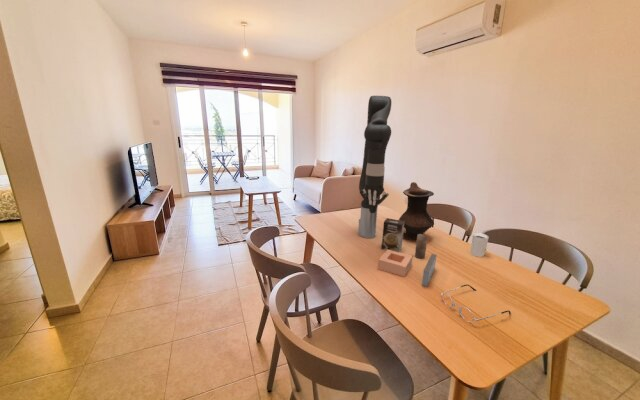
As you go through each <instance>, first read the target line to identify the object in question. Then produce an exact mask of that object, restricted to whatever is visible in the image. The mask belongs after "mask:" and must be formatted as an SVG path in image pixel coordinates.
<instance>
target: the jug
mask: <svg viewBox="0 0 640 400" xmlns="http://www.w3.org/2000/svg"><path fill="white" fill-rule="evenodd" d="M402 193H403V195H405V196H406V197H407V208H406V210H405V211H404V212H403V213H402V214H401V215H400V217H399V218H398V220H401V221H405V222H404V231H405V232H403V237H404V238H406V239H408V240H409V241H417V235H418V234H424V233H425V232H427V231H428V230H429V229H430V228H432V227H433V226H434V225H435V222H434V220H433V218H432V217H431V215H430V214H429V213H428V210H427V208H428V201H429V199H430V197H432V196H434V195H435V194H434V192H433V191H430V190H428V189H424V188H421V187H420V186H418V184H417V182H416V181H415V182H414V181H413V182H411V183H410V185H409V187H408V188H406V189H405V190H403V192H402ZM424 235H425V234H424Z"/></svg>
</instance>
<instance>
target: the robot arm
mask: <svg viewBox="0 0 640 400" xmlns="http://www.w3.org/2000/svg"><path fill="white" fill-rule="evenodd" d="M367 106H368V107H367V121H366V122H367V123H366V127H365V129H364V133H363V136H364V140H365V142H364V149H363V150H364V151H363V160H362V167H361V173H360V179H359V183H358V190H359V195H360V196H361V197H362V199H363V200H361V202H360V215H359V216H360V218H359V219H358V227H357V228H358V229H357V231H358V232H357V233H358V234H357V235H358V236H360V237H363V238H367V239H370V238H372V239H373V238H375V237H376V233H377V220H378V219H377V218H378V206H379V205H380V204H382V203H383V202H384V201H385V200H386V198H388V196H389V193H387V192H386V191H385V188H384V183H385V182H384V180H385V160H386V159H385V158H386V151H387V147H388V144H389V142H390V138H391V136H392V128H391V127H390V125H388V118H389V117H390V114H391V110H392V98H391V97H390V96H388V95H387V96H386V95H370V97H369V99H368V105H367Z"/></svg>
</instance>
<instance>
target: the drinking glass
mask: <svg viewBox="0 0 640 400" xmlns="http://www.w3.org/2000/svg"><path fill="white" fill-rule="evenodd" d="M488 242H489V235H487V234H485V233H480V232H475V233H472V239H471V247H470V254H471V255H472V256H474V257H479V258H483V257H485V255H486V254H485V253H486V250H487V249H486V248H487V246H488Z"/></svg>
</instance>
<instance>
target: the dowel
mask: <svg viewBox="0 0 640 400" xmlns="http://www.w3.org/2000/svg"><path fill="white" fill-rule="evenodd" d="M427 242H428V235H427V234H418V235H417V240H416V244H415V252H414V257H415V258H416V259H420V260H422V259H423V260H424V259H426V251H427V244H428V243H427Z"/></svg>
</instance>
